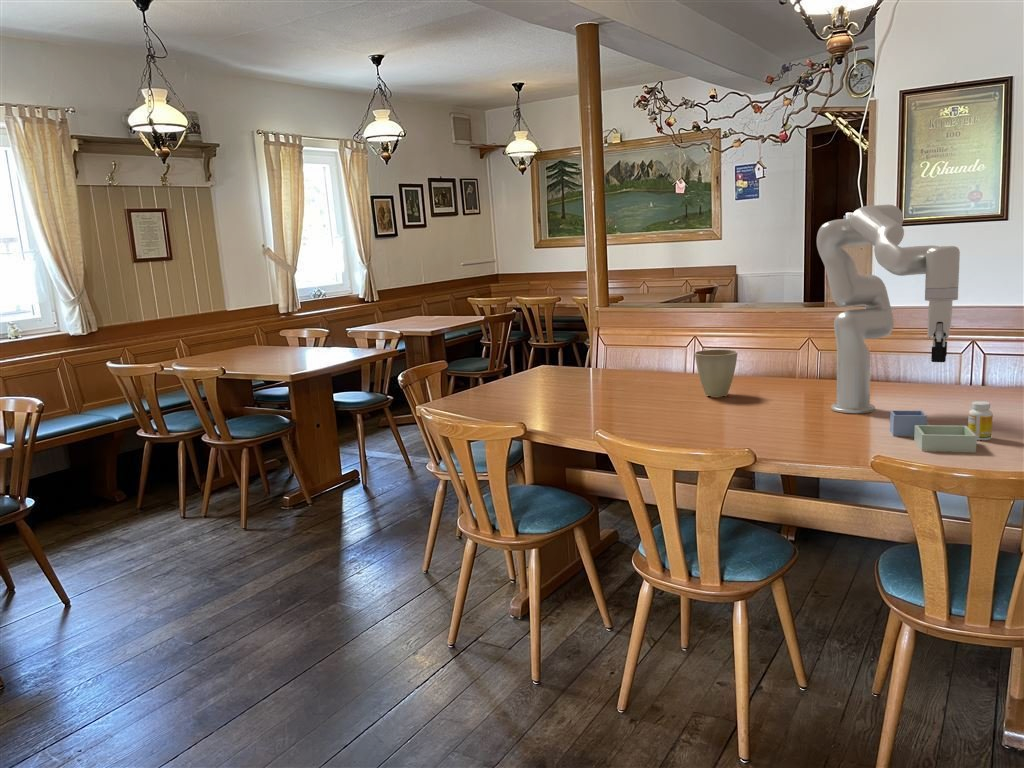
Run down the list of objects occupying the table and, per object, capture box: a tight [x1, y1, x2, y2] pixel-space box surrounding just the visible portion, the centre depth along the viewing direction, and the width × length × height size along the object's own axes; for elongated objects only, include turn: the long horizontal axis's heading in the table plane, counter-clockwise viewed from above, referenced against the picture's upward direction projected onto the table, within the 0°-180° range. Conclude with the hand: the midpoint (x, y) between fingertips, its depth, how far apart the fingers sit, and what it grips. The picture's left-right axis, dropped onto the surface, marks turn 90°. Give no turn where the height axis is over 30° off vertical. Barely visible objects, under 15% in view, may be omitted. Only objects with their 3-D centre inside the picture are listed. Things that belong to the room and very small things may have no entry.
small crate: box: [889, 409, 928, 437], centre depth 203 cm, size 6×8×6 cm
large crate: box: [913, 424, 977, 453], centre depth 190 cm, size 10×12×4 cm
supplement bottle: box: [967, 400, 994, 441], centre depth 194 cm, size 5×5×10 cm
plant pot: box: [694, 349, 738, 397], centre depth 267 cm, size 15×15×16 cm
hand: (939, 359), depth 196 cm, fingers open, 9 cm apart
